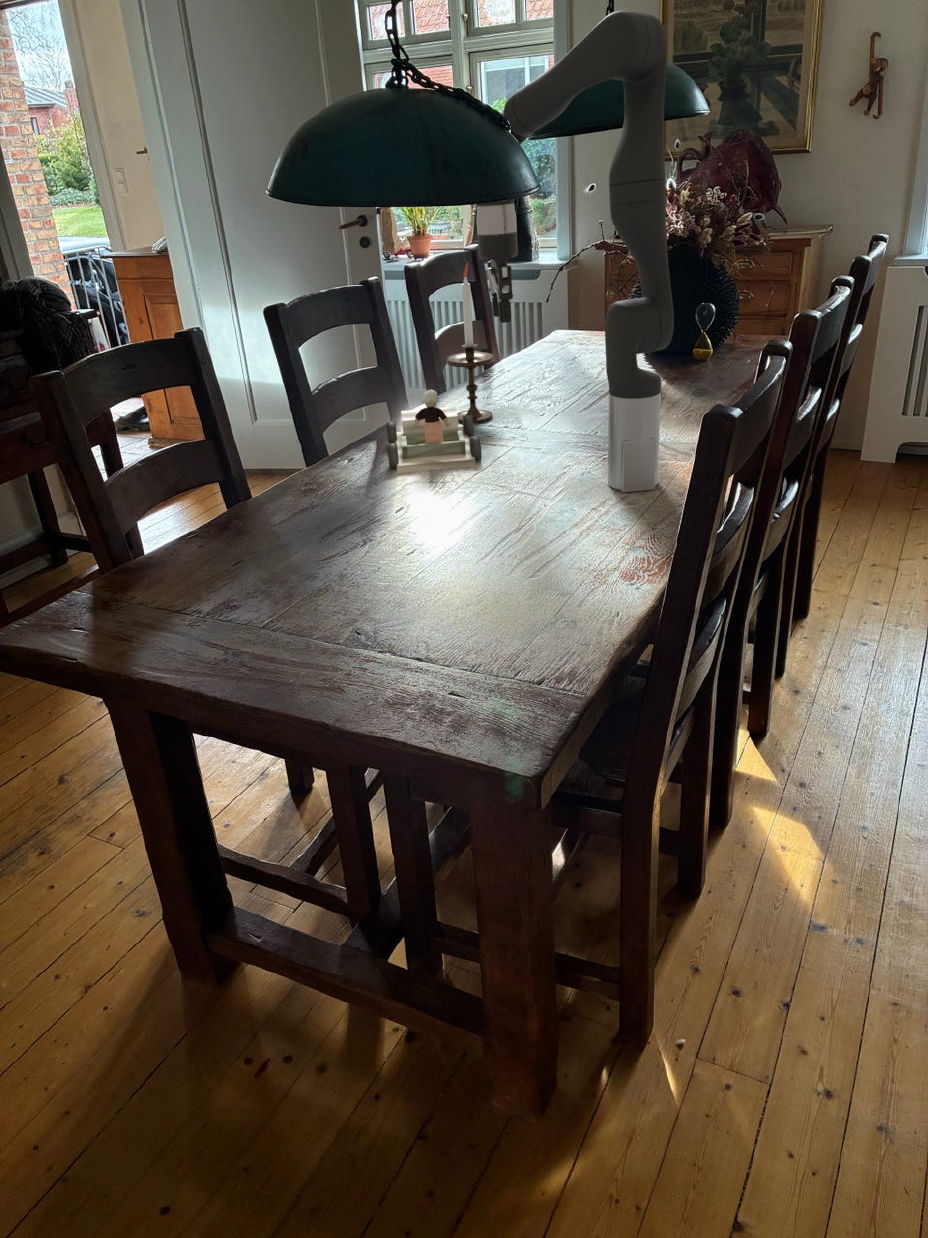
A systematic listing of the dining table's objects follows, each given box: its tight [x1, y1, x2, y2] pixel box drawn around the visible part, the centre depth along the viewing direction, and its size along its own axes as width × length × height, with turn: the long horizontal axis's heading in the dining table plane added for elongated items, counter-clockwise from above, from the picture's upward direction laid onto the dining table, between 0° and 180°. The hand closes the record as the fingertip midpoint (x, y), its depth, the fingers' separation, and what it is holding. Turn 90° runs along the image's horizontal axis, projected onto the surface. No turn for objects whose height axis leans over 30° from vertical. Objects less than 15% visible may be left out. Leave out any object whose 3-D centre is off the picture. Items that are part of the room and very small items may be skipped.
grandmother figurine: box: [414, 389, 450, 443], centre depth 191 cm, size 8×4×13 cm, turn 88°
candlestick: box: [446, 261, 495, 425], centre depth 210 cm, size 11×11×35 cm
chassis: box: [386, 406, 482, 474], centre depth 196 cm, size 24×19×6 cm
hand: (501, 319), depth 182 cm, fingers open, 8 cm apart
